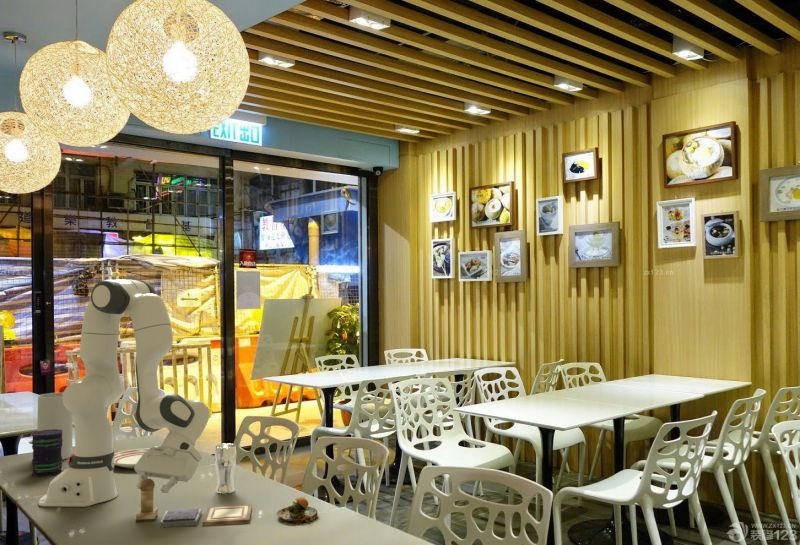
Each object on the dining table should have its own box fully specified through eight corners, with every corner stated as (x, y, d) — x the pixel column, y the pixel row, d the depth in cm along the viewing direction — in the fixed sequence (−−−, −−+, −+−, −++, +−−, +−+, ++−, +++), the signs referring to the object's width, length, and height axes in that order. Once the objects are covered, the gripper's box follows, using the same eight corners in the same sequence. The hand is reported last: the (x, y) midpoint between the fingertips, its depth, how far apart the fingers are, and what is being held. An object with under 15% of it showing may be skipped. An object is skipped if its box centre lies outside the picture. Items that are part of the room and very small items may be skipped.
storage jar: (64, 468, 249) (64, 428, 249) (59, 475, 239) (60, 433, 240) (34, 471, 246) (35, 430, 246) (28, 478, 236) (29, 435, 237)
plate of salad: (281, 511, 201) (281, 486, 201) (320, 512, 200) (320, 486, 201) (272, 525, 189) (272, 498, 189) (313, 525, 188) (314, 499, 189)
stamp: (135, 522, 190) (136, 481, 191) (139, 516, 195) (140, 476, 196) (154, 521, 191) (154, 480, 192) (157, 515, 196) (158, 476, 196)
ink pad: (159, 527, 186) (159, 520, 186) (166, 515, 196) (166, 509, 196) (196, 525, 188) (197, 518, 188) (201, 513, 198) (201, 507, 198)
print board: (202, 525, 188) (202, 521, 188) (207, 510, 200) (207, 506, 201) (249, 522, 190) (249, 518, 190) (251, 508, 203) (251, 504, 203)
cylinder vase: (66, 452, 274) (67, 391, 275) (76, 458, 265) (77, 395, 266) (33, 457, 266) (34, 394, 267) (41, 463, 257) (42, 398, 257)
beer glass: (230, 495, 216) (230, 448, 217) (210, 493, 218) (210, 447, 218) (239, 489, 223) (239, 443, 223) (220, 487, 224) (220, 442, 225)
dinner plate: (155, 451, 277) (155, 443, 277) (196, 461, 261) (196, 452, 261) (91, 465, 255) (91, 456, 255) (133, 476, 239) (133, 467, 239)
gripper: (145, 440, 206) (119, 480, 197) (196, 446, 198) (172, 488, 188) (155, 451, 210) (131, 491, 201) (206, 458, 202) (183, 499, 192)
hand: (151, 490), depth 195 cm, fingers open, 8 cm apart
